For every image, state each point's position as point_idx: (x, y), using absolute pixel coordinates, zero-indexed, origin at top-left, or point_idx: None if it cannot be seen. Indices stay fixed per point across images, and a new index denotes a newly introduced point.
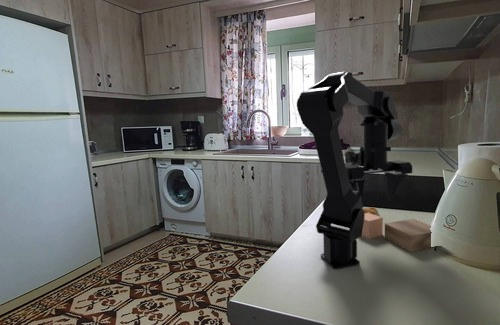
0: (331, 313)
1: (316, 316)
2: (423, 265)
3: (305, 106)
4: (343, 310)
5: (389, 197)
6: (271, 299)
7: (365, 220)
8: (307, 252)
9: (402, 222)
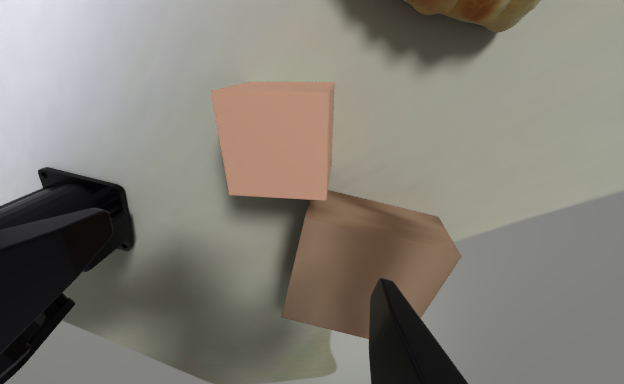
0: None
1: None
2: (260, 312)
3: None
4: None
5: (375, 305)
6: None
7: (226, 171)
8: (9, 120)
9: (375, 252)
